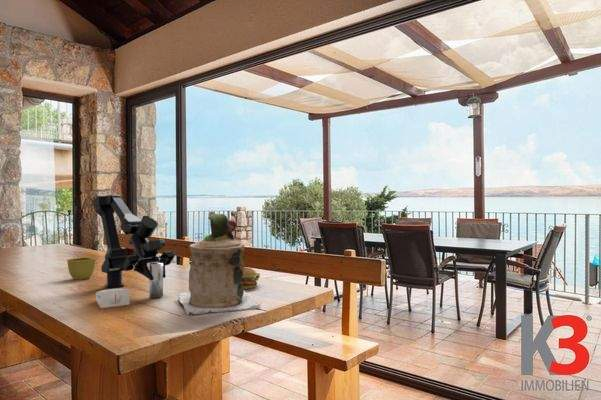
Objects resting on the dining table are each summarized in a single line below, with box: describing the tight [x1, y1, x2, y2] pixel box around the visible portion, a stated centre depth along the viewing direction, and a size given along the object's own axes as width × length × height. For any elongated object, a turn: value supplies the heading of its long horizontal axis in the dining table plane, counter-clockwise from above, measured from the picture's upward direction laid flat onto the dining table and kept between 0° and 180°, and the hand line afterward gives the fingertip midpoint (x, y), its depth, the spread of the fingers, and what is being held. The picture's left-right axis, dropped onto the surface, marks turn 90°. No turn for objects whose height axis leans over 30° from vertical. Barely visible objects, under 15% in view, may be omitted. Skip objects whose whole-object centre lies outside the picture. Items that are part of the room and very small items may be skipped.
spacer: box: [148, 262, 164, 298], centre depth 154 cm, size 5×5×12 cm
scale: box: [95, 288, 131, 309], centre depth 146 cm, size 13×10×5 cm
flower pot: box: [66, 256, 97, 281], centre depth 190 cm, size 9×9×9 cm
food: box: [241, 266, 261, 290], centre depth 172 cm, size 14×14×8 cm
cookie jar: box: [177, 211, 261, 316], centre depth 144 cm, size 25×25×32 cm
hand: (158, 278), depth 153 cm, fingers closed on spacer, 5 cm apart
